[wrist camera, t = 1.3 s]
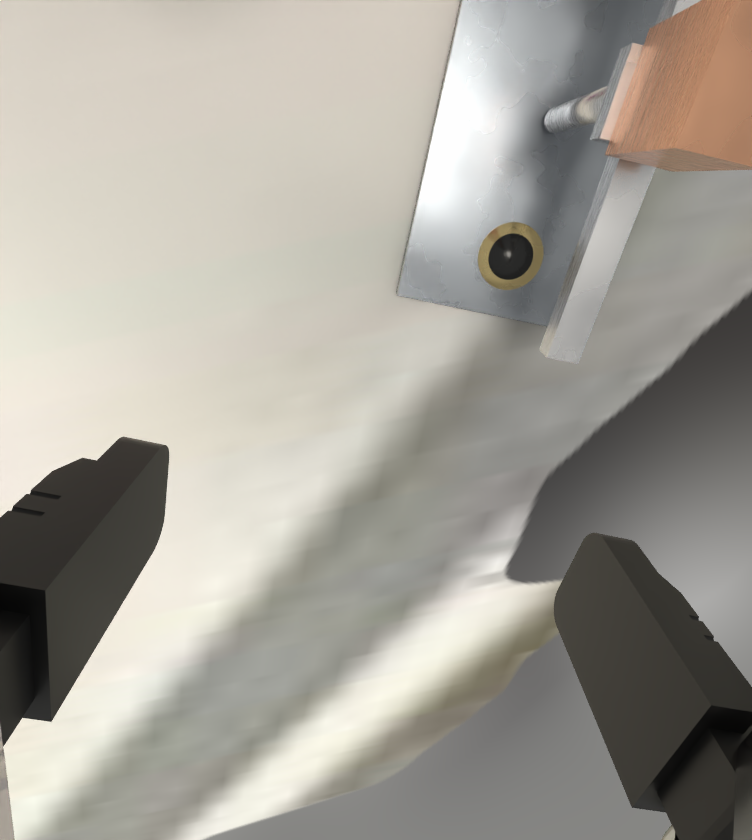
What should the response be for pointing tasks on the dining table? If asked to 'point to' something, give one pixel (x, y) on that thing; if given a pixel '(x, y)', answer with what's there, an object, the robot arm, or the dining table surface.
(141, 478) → the robot arm
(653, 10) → the bolt plate
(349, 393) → the dining table surface
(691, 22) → the block
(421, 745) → the dining table surface
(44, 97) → the dining table surface
